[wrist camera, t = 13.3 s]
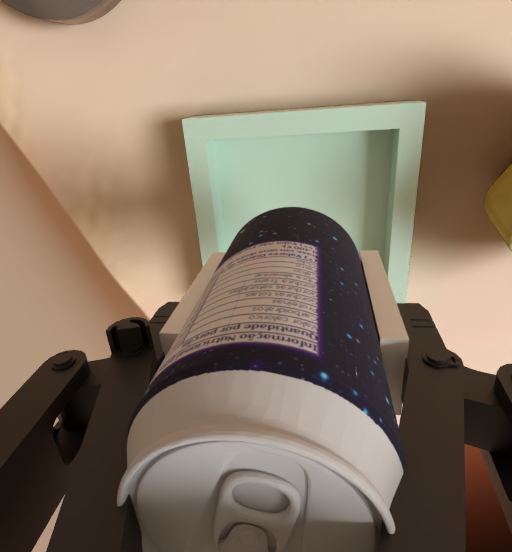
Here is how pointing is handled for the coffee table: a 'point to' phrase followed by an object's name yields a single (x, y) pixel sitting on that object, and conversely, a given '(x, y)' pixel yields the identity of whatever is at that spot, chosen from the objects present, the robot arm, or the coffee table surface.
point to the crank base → (64, 9)
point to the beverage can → (270, 405)
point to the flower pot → (501, 205)
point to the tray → (311, 173)
